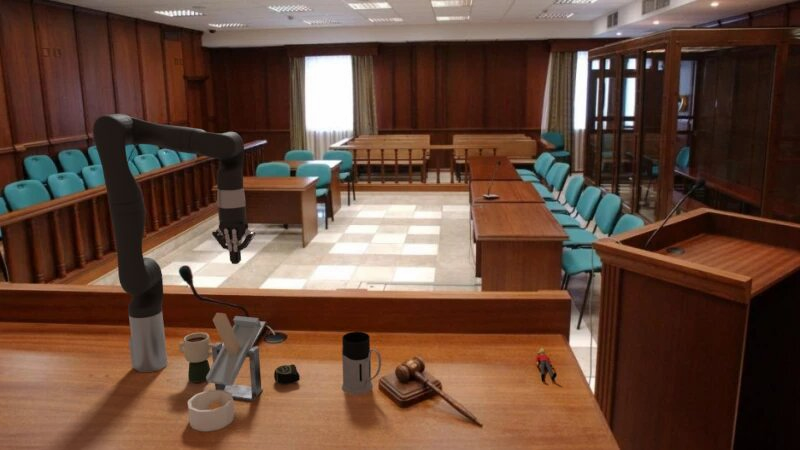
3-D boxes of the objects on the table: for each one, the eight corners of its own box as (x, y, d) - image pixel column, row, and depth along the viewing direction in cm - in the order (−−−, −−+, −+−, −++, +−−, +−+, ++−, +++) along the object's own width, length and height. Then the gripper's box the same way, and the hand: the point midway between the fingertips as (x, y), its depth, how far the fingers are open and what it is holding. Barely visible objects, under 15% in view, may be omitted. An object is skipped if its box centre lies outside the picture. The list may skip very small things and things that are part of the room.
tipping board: (205, 383, 166) (185, 345, 156) (236, 325, 181) (220, 287, 171) (236, 387, 164) (217, 349, 154) (264, 328, 179) (249, 289, 169)
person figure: (541, 367, 180) (536, 341, 197) (536, 379, 181) (532, 352, 198) (558, 373, 180) (552, 346, 197) (553, 385, 181) (547, 357, 198)
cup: (180, 429, 158) (178, 409, 157) (205, 406, 169) (203, 387, 167) (219, 434, 155) (217, 414, 154) (241, 411, 166) (240, 392, 165)
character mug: (223, 374, 186) (219, 333, 183) (212, 386, 179) (209, 343, 176) (188, 372, 188) (184, 331, 184) (176, 383, 181) (172, 341, 178)
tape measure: (300, 384, 180) (299, 372, 179) (276, 388, 178) (275, 376, 177) (296, 374, 186) (296, 362, 185) (273, 377, 184) (272, 365, 183)
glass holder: (358, 376, 184) (357, 328, 181) (392, 393, 175) (392, 342, 171) (335, 386, 178) (333, 337, 175) (369, 405, 169) (367, 353, 165)
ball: (207, 415, 162) (206, 404, 162) (213, 410, 165) (212, 399, 165) (217, 416, 162) (217, 405, 161) (223, 411, 165) (223, 400, 164)
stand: (212, 396, 174) (208, 348, 170) (224, 385, 179) (220, 339, 176) (254, 401, 171) (250, 353, 167) (264, 390, 176) (261, 344, 173)
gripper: (203, 205, 176) (208, 265, 180) (246, 208, 173) (250, 268, 177) (217, 200, 183) (221, 258, 187) (259, 202, 180) (262, 261, 184)
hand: (235, 263), depth 182 cm, fingers closed
